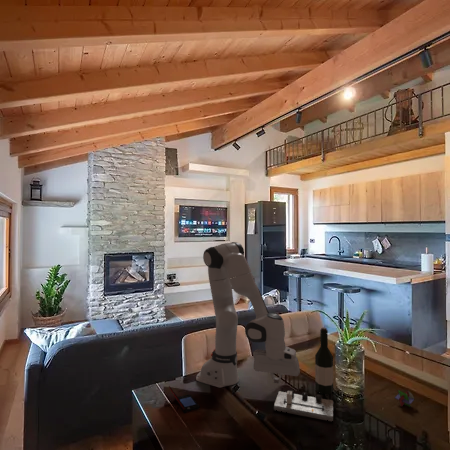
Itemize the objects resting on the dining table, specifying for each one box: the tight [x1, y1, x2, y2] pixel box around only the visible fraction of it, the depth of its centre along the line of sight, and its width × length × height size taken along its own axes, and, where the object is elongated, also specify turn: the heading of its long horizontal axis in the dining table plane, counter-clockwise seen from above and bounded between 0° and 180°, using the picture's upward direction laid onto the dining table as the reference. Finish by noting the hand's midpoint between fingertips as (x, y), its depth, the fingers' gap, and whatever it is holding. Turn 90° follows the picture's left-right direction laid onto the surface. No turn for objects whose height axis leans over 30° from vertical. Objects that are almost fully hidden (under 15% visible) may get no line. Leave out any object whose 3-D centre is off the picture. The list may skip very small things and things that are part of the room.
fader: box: [286, 390, 292, 404], centre depth 135 cm, size 2×3×4 cm, turn 161°
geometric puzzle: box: [394, 389, 416, 408], centre depth 137 cm, size 7×7×8 cm
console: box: [273, 389, 334, 422], centre depth 134 cm, size 24×13×4 cm, turn 71°
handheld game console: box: [168, 385, 201, 414], centre depth 136 cm, size 12×11×7 cm
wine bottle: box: [314, 326, 334, 395], centre depth 150 cm, size 8×8×30 cm
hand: (276, 382), depth 136 cm, fingers closed
